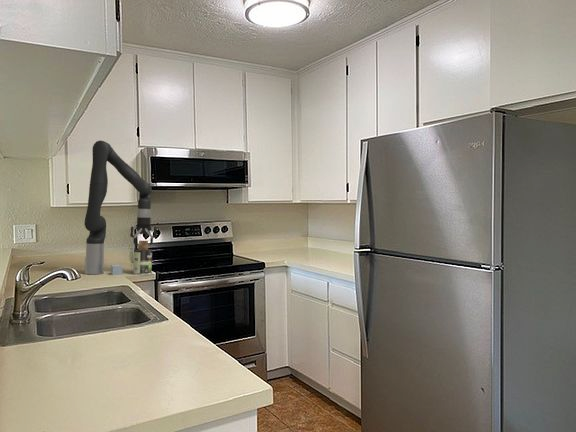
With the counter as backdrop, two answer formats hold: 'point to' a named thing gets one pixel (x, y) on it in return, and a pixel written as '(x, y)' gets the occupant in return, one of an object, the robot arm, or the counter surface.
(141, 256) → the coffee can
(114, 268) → the slate-blue block
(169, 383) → the counter surface
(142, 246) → the walnut block
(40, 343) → the counter surface
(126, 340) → the counter surface
